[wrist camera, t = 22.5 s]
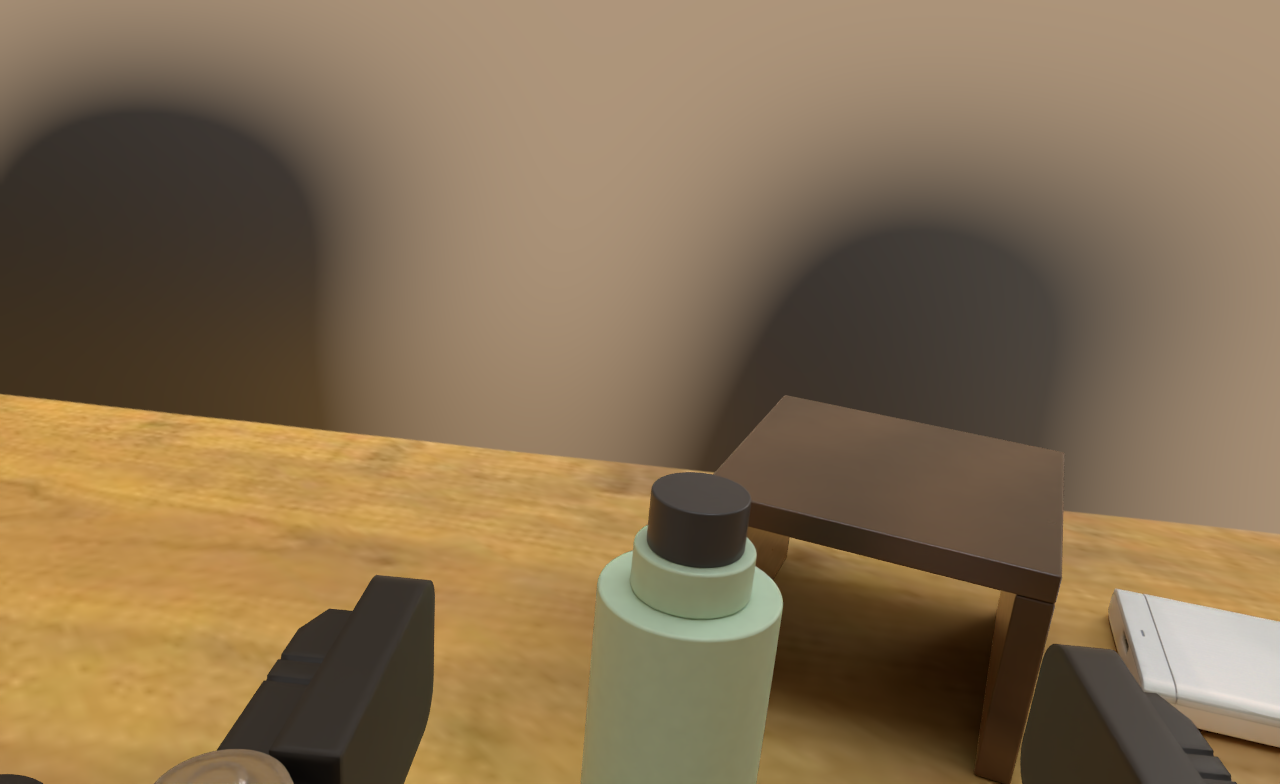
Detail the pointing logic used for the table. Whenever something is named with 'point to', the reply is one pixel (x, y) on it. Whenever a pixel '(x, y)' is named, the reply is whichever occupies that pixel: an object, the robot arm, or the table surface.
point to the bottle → (683, 644)
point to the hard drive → (1203, 662)
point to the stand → (920, 525)
